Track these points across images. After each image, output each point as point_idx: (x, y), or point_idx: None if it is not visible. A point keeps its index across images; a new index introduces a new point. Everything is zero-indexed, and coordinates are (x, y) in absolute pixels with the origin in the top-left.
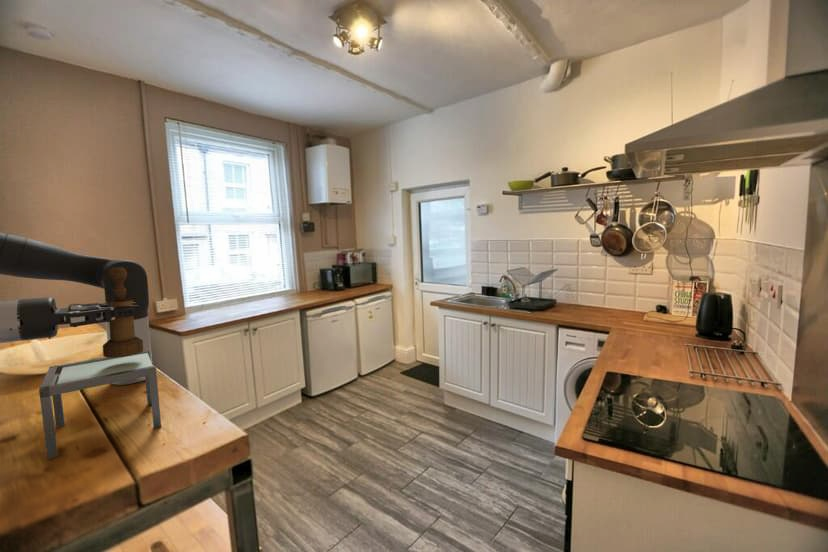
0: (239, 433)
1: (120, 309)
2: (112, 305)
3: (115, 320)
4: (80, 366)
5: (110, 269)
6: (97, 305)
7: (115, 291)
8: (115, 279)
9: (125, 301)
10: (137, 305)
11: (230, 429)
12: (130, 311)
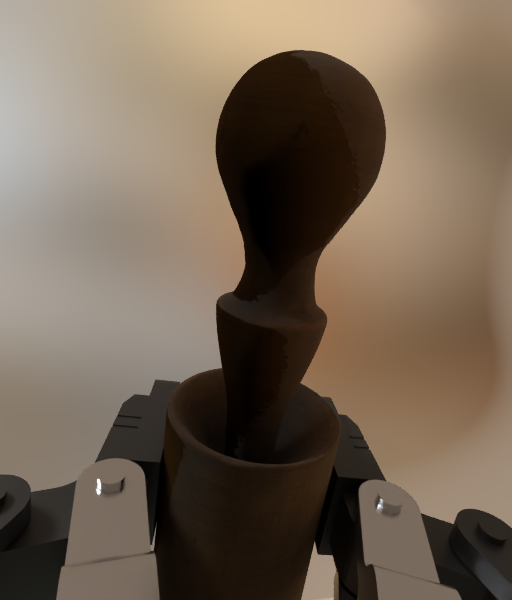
0: None
1: (379, 474)
2: (327, 479)
3: (305, 579)
4: None
5: (349, 77)
6: (396, 575)
7: (319, 340)
8: (349, 215)
9: (321, 399)
10: None
11: None
12: None
